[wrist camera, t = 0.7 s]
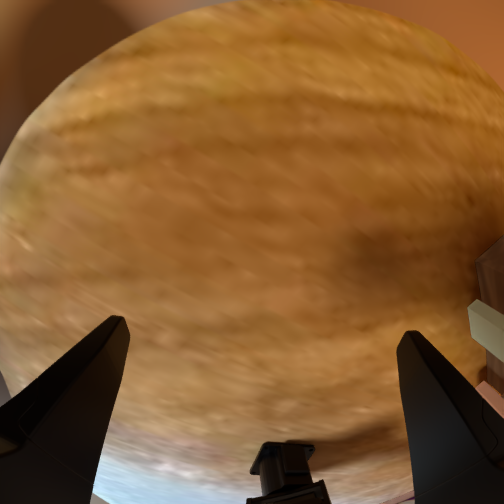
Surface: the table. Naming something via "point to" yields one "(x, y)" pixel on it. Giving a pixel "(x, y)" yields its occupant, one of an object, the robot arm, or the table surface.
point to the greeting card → (402, 499)
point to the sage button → (487, 327)
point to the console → (493, 301)
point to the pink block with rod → (491, 397)
